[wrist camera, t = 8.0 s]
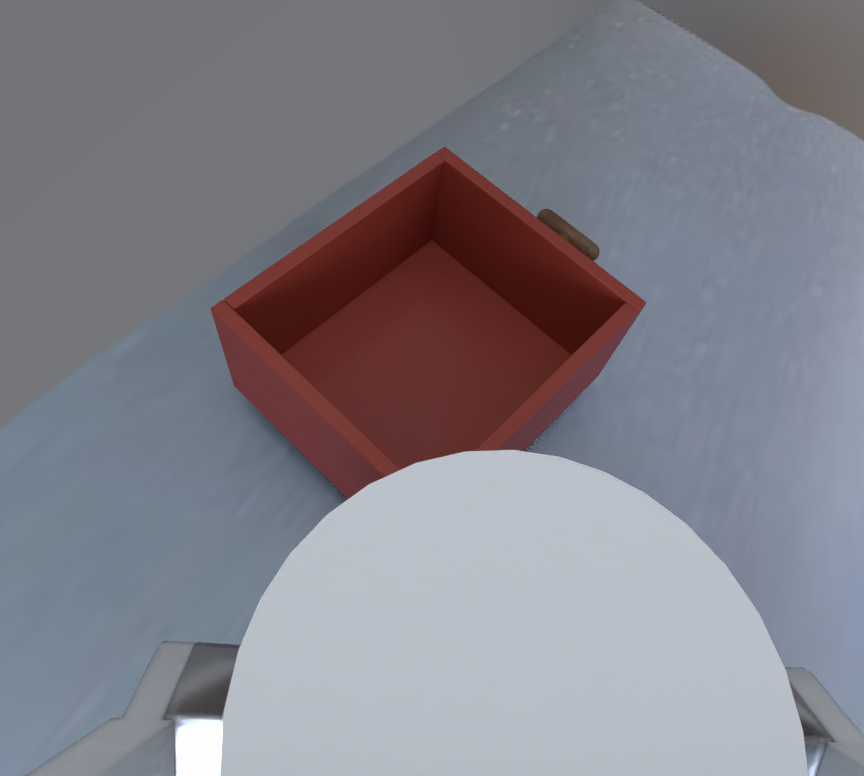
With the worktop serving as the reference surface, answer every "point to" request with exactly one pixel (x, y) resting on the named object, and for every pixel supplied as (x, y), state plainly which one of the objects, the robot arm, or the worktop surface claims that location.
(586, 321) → the toy cart
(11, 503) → the worktop surface
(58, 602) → the worktop surface
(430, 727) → the cylindrical container
